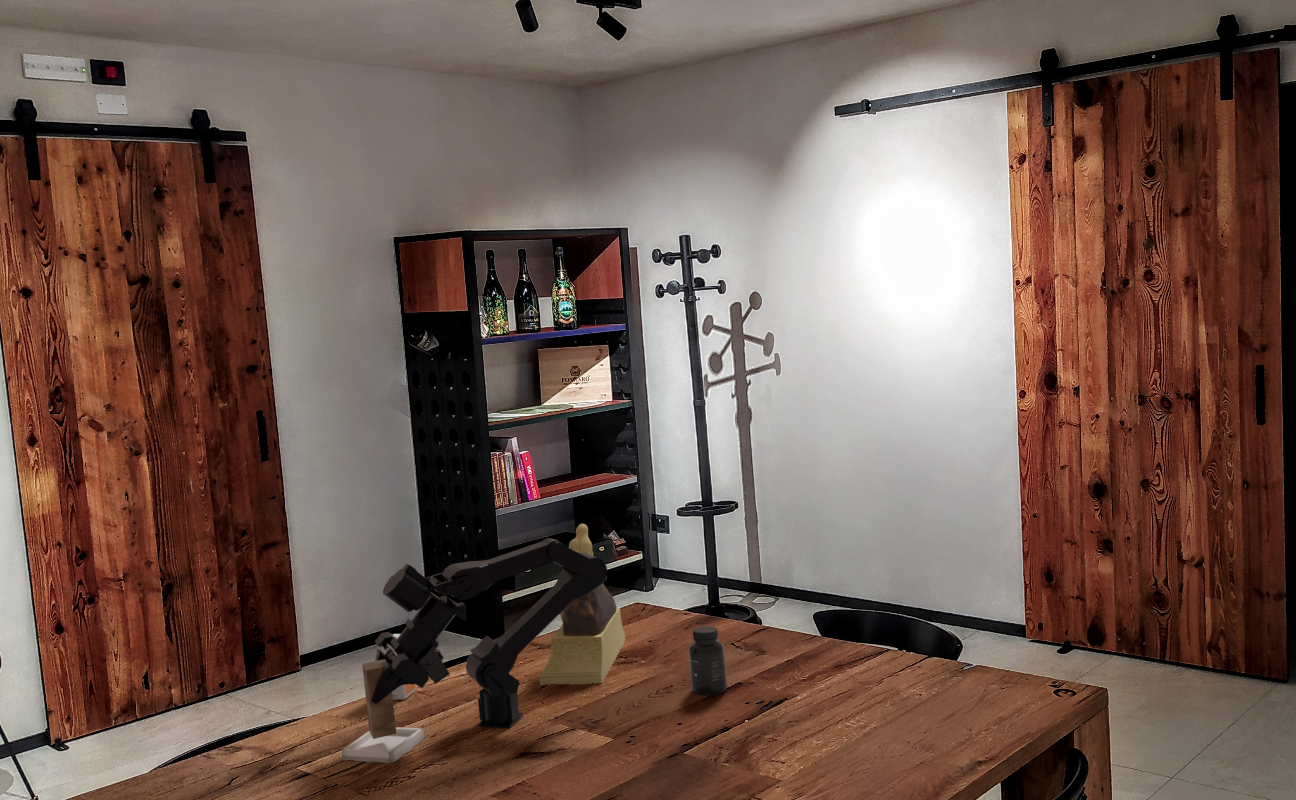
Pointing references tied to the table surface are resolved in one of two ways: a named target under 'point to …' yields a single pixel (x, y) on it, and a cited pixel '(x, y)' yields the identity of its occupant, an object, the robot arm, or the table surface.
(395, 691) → the skincare box
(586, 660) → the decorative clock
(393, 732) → the wooden block
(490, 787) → the table surface
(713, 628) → the supplement bottle
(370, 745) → the tray
